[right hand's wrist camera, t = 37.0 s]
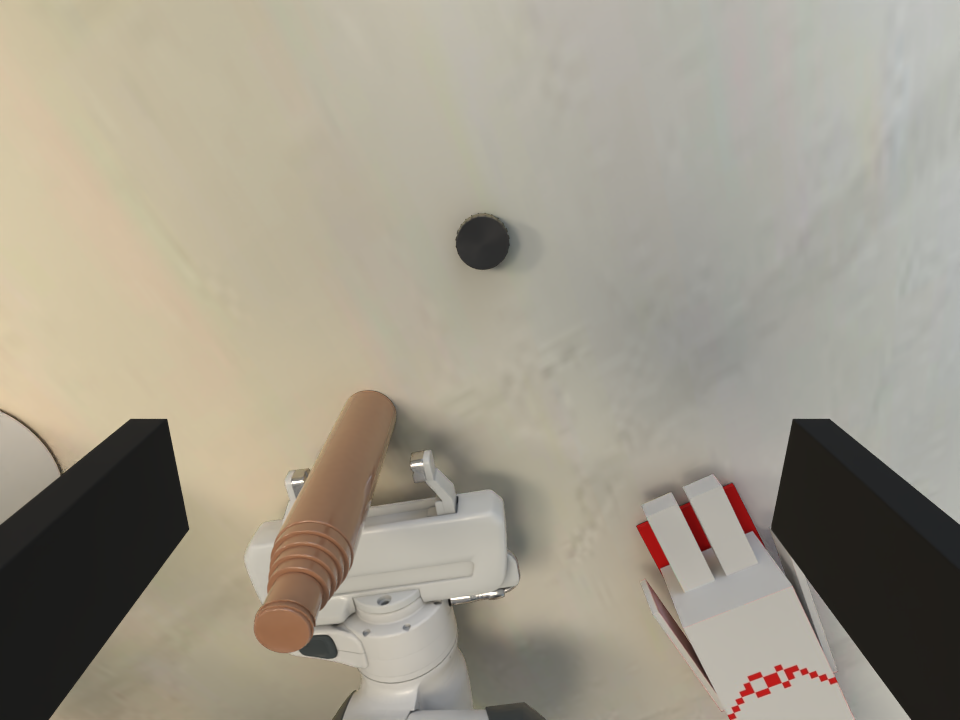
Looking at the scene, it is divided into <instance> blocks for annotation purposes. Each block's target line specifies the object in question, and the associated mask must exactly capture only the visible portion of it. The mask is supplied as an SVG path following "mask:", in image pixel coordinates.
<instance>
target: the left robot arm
mask: <svg viewBox="0 0 960 720" xmlns="http://www.w3.org/2000/svg"><path fill="white" fill-rule="evenodd" d="M411 456H412V457H411V458H410V466H411V470H412V471H413V479H414V483H418V482H426V483H427V485H428V486H429V487H430V488H431V489H432V490H433V491H434V492H435V493H436V497H432V498H425V499H419V500H412V501H405V502H398V503H391V504H384V505H377V506H370V509H369V512H368V515H367V518H366V522H365V525H364V528H363V532H362V535H361V538H360V541H359V545H358V548H357V551H356V555H355V558H354V561H353V564H352V567H351V569H350V571H349V572H348V575H347V577H346V579H345V580H344V582H343V583H342V584H341V585H340V587H339V588H338V589H337V591H336V592H335V593H334V594H333V596H332V597H331V599H330V600H329V601H328V602H327V604H326V605H325V607H324V608H323V609H322V610H321V611H319V614H318V617H317V620H316V627H314V633H313V637H312V639H311V640H310V642H309V643H307V644H306V645H305V646H304V647H303V648H302V649H300V650H298V651H295V652H291V653H289V654H291V655H294V656H299V657H307V658H315V659H322V660H328V661H333V662H337V663H342V664H345V665H348V666H352V667H355V668H358V670H359V672H360V674H361V685H360V688H359V690H358V691H356V690H355V691H353V692H352V693H351V694H350V696H349V697H348V698H347V699H346V700H345V702H344V703H343V705H342V706H341V707H340V709H339V710H338V712H337V713H336V715H335V716H334V718H333V719H332V720H546V719H545V718H544V717H542V716H541V715H540V714H539V713H538V712H537V711H535V710H534V709H533V708H531V707H530V706H529V705H527V704H526V703H524V702H523V703H515V704H507V705H498V706H489V707H486V709H473V700H472V692H471V685H470V680H469V675H468V670H467V666H466V662H465V659H464V656H463V654H462V652H461V651H460V649H459V648H458V646H457V642H458V628H457V623H456V618H455V615H454V610H453V606H452V605H458V604H465V603H471V602H475V601H479V600H483V599H484V600H485V599H489V600H495V599H499V598H503V597H504V596H505V593H507V592H509V591H511V590H513V589H514V588H515V587H516V586H517V585H518V583H519V580H520V570H519V565H518V560H517V558H516V556H515V555H514V554H513V553H512V552H511V551H510V550H508V549H507V531H506V519H505V509H504V502H503V499H502V498H501V497H500V496H499V495H498V494H497V493H495V492H494V491H493V490H480V491H474V492H467V493H460V494H456V492H455V487H454V484H453V483H452V482H451V481H450V480H449V479H448V478H447V477H446V476H445V475H444V474H443V473H442V472H441V471H440V470H439V469H438V468H435V463H434V459H433V454H432V451H431V450H426V451H419V452H412V454H411ZM309 473H310V469H309V468H307V469H299V470H292V471H289V473H288V474H287V476H286V478H285V487H286V490H287V493H288V496H289V499H290V500H289V502H288V505H287V509H286V512H285V515H284V518H283V519H281V520H273V521H267V522H264V523H262V524H261V525H260V526H259V528H258V529H257V531H256V532H255V534H254V535H253V537H252V538H251V540H250V542H249V544H248V546H247V548H246V551H245V554H244V562H245V566H246V569H247V572H248V575H249V577H250V580H251V582H252V584H253V587H254V589H255V591H256V593H257V595H258V598H259V599H260V601H261V603H262V605H263V603H264V601H265V599H266V597H267V595H268V593H267V584H268V575H269V566H270V556H271V552H272V549H273V546H274V542H275V539H276V537H277V535H278V533H279V531H280V529H281V527H282V525H283V523H284V522H285V520H286V518H287V516H288V514H289V512H290V510H291V508H292V506H293V504H294V502H295V500H296V498H297V496H298V494H299V492H300V491H301V489H302V487H303V485H304V483H305V481H306V479H307V477H308V475H309ZM60 476H61V475H60V472H59V469H58V467H57V464H56V462H55V460H54V459H53V457H52V455H51V454H50V452H49V451H48V449H47V448H46V447H45V445H44V444H43V443H42V442H41V441H40V439H39V438H38V437H37V436H36V435H35V434H34V433H32V432H31V431H30V430H29V429H28V428H27V427H25V426H24V425H23V424H21V423H20V422H19V421H17V420H15V419H14V418H12V417H11V416H9V415H7V414H5V413H3V412H1V411H0V525H1V524H2V523H3V522H4V521H6V520H7V519H8V518H9V517H10V516H12V515H13V514H14V513H15V512H17V511H18V510H19V509H20V508H22V507H23V506H24V505H25V504H26V503H28V502H29V501H30V500H31V499H33V498H34V497H35V496H36V495H38V494H39V493H40V492H41V491H43V490H44V489H45V488H46V487H47V486H49V485H50V484H51V483H52V482H54V481H55V480H56V479H57V478H59V477H60Z"/></svg>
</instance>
